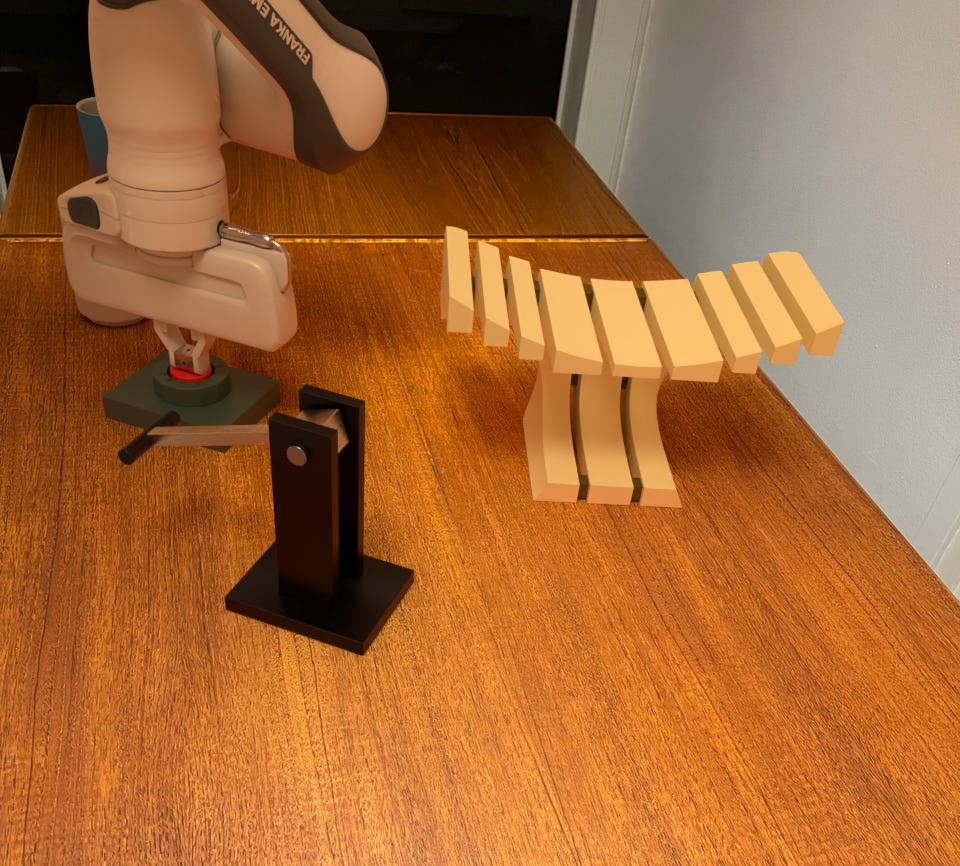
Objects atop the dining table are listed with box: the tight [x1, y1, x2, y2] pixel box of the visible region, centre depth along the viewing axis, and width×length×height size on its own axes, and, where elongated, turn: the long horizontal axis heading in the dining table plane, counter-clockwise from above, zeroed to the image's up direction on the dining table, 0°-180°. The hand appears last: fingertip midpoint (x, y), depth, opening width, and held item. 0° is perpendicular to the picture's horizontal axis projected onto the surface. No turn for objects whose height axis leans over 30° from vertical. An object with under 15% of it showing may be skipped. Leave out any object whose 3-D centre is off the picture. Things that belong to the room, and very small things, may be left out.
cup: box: [75, 96, 108, 179], centre depth 110 cm, size 7×7×15 cm
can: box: [59, 214, 146, 327], centre depth 100 cm, size 8×8×12 cm
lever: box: [117, 409, 349, 466], centre depth 68 cm, size 16×6×2 cm, turn 70°
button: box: [170, 365, 212, 382], centre depth 90 cm, size 4×4×2 cm
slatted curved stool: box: [439, 225, 845, 509], centre depth 87 cm, size 30×16×18 cm, turn 92°
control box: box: [101, 348, 282, 454], centre depth 91 cm, size 12×10×4 cm
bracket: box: [224, 383, 415, 656], centre depth 70 cm, size 11×9×16 cm
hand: (190, 368), depth 89 cm, fingers closed, pressing on button
